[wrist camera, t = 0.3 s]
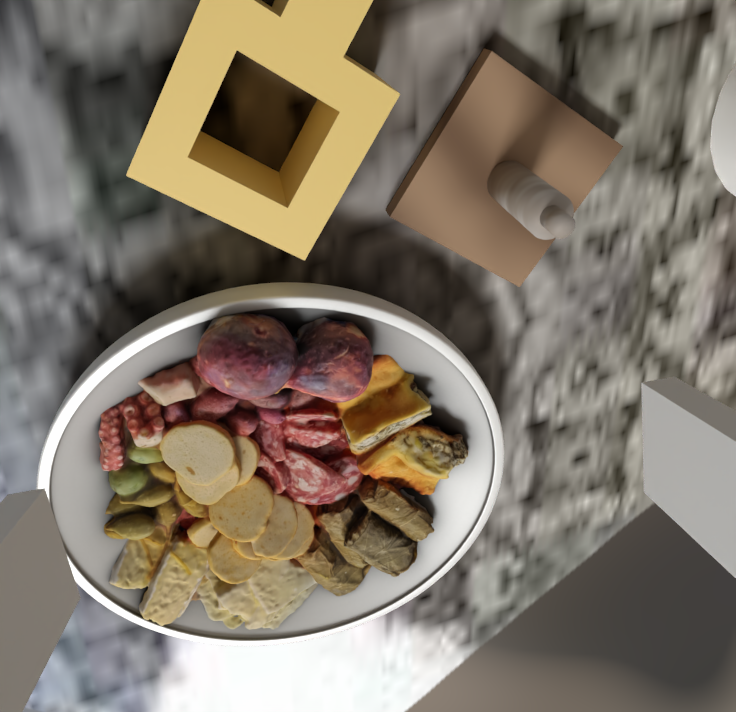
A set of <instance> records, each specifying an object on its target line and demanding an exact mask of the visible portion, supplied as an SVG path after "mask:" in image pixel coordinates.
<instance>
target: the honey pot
mask: <svg viewBox="0 0 736 712" xmlns="http://www.w3.org/2000/svg"><path fill="white" fill-rule="evenodd" d="M710 149H711V154H712V158H713V163H714V168H715V172H716V173H717V175H718V176H719V178H720V180H721V181H722V183H723V185H724V186H725V188H726V189H727V190H728V191H729V192H731V193H732V194H733V195H735V196H736V62H735V64H734V66H733V68H732V70H731V72H730V74H729V76H728V77H727V79H726V81H725V83H724V85H723V87H722V89H721V91H720V95H719V98H718V102H717V105H716V108H715V112H714V115H713V119H712V128H711V144H710Z"/></svg>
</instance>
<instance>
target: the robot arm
mask: <svg viewBox="0 0 736 712" xmlns="http://www.w3.org/2000/svg"><path fill="white" fill-rule="evenodd" d="M642 426H643V468H644V493H645V494H646V495H648V496H649V497H650V498H651V499H652V500H653V501H654V502H655V503H656V504H657V505H658V506H659V507H661V508H662V510H664V511H665V512H666V513H667V514H668V515H669V516H670V517H671V518H672V519H673V520H674V521H675V522H676V523H677V524H678V525H680V526H681V527H682V528H683V529H684V530H685V531H686V532H687V533H688V534H689V535H690V536H691V537H692V538H694V539H695V540H696V541H697V542H698V543H699V544H700V545H701V546H702V547H703V548H704V549H705V550H706V551H707V552H708V553H709V554H710V555H712V556H713V557H714V558H715V559H716V560H717V561H718V562H719V563H720V564H721V565H722V566H723V567H724V568H725V569H727V570H728V571H729V572H730V573H731V574H732V575H733V576H734V577H735V578H736V411H735V410H733V409H731V408H730V407H728V406H726V405H724V404H722V403H721V402H719V401H717V400H715V399H713V398H712V397H710V396H708V395H706V394H704V393H703V392H701V391H699V390H697V389H695V388H694V387H692V386H690V385H688V384H686V383H685V382H683V381H681V380H679V379H677V378H676V377H671V378H665V379H659V380H654V381H648V382H642ZM79 599H80V595H79V592H78V588H77V585H76V582H75V579H74V576H73V573H72V570H71V567H70V564H69V561H68V558H67V555H66V552H65V549H64V546H63V542H62V539H61V536H60V533H59V530H58V527H57V524H56V521H55V518H54V515H53V512H52V509H51V506H50V503H49V500H48V496H47V493H46V490H45V488H43V489H37V490H31V491H26V492H20V493H14V494H9V495H7V496H6V497H5V499H4V500H3V501H2V502H1V503H0V712H22V711H23V709H24V707H25V705H26V703H27V701H28V699H29V697H30V695H31V694H32V692H33V690H34V688H35V686H36V684H37V682H38V680H39V678H40V676H41V674H42V672H43V670H44V668H45V666H46V664H47V662H48V660H49V658H50V656H51V654H52V652H53V650H54V648H55V646H56V644H57V643H58V641H59V639H60V637H61V635H62V633H63V631H64V629H65V627H66V625H67V623H68V621H69V619H70V617H71V615H72V613H73V611H74V609H75V607H76V605H77V603H78V601H79Z"/></svg>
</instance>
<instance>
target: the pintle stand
mask: <svg viewBox="0 0 736 712" xmlns="http://www.w3.org/2000/svg"><path fill="white" fill-rule="evenodd" d="M622 147H623V146H622V145H620V144H619V143H618V142H616V141H615V140H613V139H612V138H611V137H609V136H608V135H607V134H605V133H604V132H602V131H601V130H600V129H598V128H597V127H596V126H594V125H593V124H591V123H590V122H589V121H587V120H586V119H585V118H583V117H582V116H580V115H579V114H578V113H576V112H575V111H574V110H572V109H571V108H569V107H568V106H567V105H565V104H564V103H563V102H561V101H560V100H558V99H557V98H556V97H554V96H553V95H551V94H550V93H549V92H547V91H546V90H545V89H543V88H542V87H540V86H539V85H538V84H536V83H535V82H534V81H532V80H531V79H529V78H528V77H527V76H525V75H524V74H523V73H521V72H520V71H518V70H517V69H516V68H514V67H513V66H512V65H510V64H509V63H507V62H506V61H505V60H503V59H502V58H501V57H499V56H498V55H496V54H495V53H494V52H492V51H490V50H487V49H485V48H484V49H483V51H482V52H481V54H480V56H479V57H478V59H477V60H476V62H475V64H474V65H473V67H472V69H471V70H470V72H469V74H468V75H467V77H466V79H465V80H464V82H463V84H462V85H461V87H460V88H459V90H458V92H457V93H456V95H455V97H454V98H453V100H452V102H451V103H450V105H449V107H448V108H447V110H446V111H445V113H444V115H443V116H442V118H441V120H440V121H439V123H438V125H437V126H436V128H435V130H434V131H433V133H432V134H431V136H430V138H429V139H428V141H427V143H426V144H425V146H424V148H423V149H422V151H421V153H420V154H419V156H418V157H417V159H416V161H415V162H414V164H413V166H412V167H411V169H410V171H409V172H408V174H407V176H406V177H405V179H404V180H403V182H402V184H401V185H400V187H399V189H398V190H397V192H396V194H395V195H394V197H393V199H392V200H391V202H390V204H389V205H388V207H387V208H386V211H387V213H388V215H389V216H390V217H391V218H393V219H395V220H397V221H398V222H400V223H402V224H404V225H406V226H408V227H410V228H411V229H413V230H415V231H417V232H419V233H421V234H422V235H424V236H426V237H428V238H430V239H432V240H434V241H435V242H437V243H439V244H441V245H443V246H445V247H446V248H448V249H450V250H452V251H454V252H456V253H458V254H459V255H461V256H463V257H465V258H467V259H469V260H470V261H472V262H474V263H476V264H478V265H480V266H482V267H483V268H485V269H487V270H489V271H491V272H493V273H494V274H496V275H498V276H500V277H502V278H504V279H506V280H507V281H509V282H511V283H513V284H515V285H517V286H518V287H520V286H521V285H522V283H523V282H524V280H525V279H526V278H527V276H528V275H529V274H530V272H531V271H532V270H533V268H534V267H535V265H536V264H537V263H538V261H539V260H540V259H541V257H542V256H543V255H544V253H545V252H546V251H547V249H548V248H549V246H550V245H551V244H552V242H553V241H554V240H555V238H558V239H563V238H566V237H568V236H569V235H570V234H571V233H572V232H573V230H574V228H575V220H574V219H573V215H574V212H575V211H576V210H577V208H578V207H579V206H580V204H581V203H582V202H583V200H584V199H585V197H586V196H587V195H588V193H589V192H590V191H591V189H592V188H593V187H594V185H595V184H596V183H597V181H598V180H599V178H600V177H601V176H602V174H603V173H604V172H605V170H606V169H607V168H608V166H609V165H610V163H611V162H612V161H613V159H614V158H615V157H616V155H617V154H618V153H619V151H620V150H621V149H622Z"/></svg>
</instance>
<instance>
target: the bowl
mask: <svg viewBox="0 0 736 712" xmlns="http://www.w3.org/2000/svg"><path fill="white" fill-rule="evenodd" d="M503 469H504V437H503V431H502V426H501V422H500V418H499V414H498V412H497V409H496V406H495V403H494V401H493V399H492V397H491V395H490V393H489V391H488V389H487V387H486V386H485V384H484V382H483V381H482V379H481V377H480V376H479V374H478V373H477V371H476V370H475V368H474V367H473V366H472V364H471V363H470V362H469V360H468V359H467V358H466V357H465V356H464V354H463V353H462V352H461V351H460V350H459V349H458V348H457V347H456V346H455V345H454V344H453V343H452V342H451V341H450V340H449V339H448V338H447V337H445V336H444V335H443V334H442V333H441V332H439V331H438V330H437V329H436V328H434V327H433V326H432V325H430V324H429V323H427V322H426V321H424V320H423V319H421V318H420V317H418V316H416V315H415V314H413V313H411V312H409V311H407V310H406V309H404V308H401V307H399V306H397V305H395V304H393V303H391V302H388V301H386V300H383V299H380V298H378V297H375V296H372V295H369V294H366V293H363V292H359V291H355V290H351V289H347V288H342V287H336V286H331V285H323V284H315V283H299V282H279V283H263V284H254V285H246V286H241V287H235V288H230V289H225V290H221V291H217V292H213V293H210V294H206V295H203V296H200V297H197V298H194V299H191V300H188V301H186V302H183V303H180V304H178V305H176V306H174V307H171V308H169V309H167V310H165V311H163V312H161V313H159V314H157V315H155V316H153V317H151V318H149V319H148V320H146V321H145V322H143V323H141V324H140V325H138V326H136V327H135V328H133V329H132V330H130V331H129V332H128V333H126V334H125V335H123V336H122V337H121V338H119V339H118V340H117V341H116V342H114V343H113V344H112V345H111V346H109V347H108V348H107V349H106V350H105V351H104V352H103V353H102V354H101V355H100V356H99V357H97V358H96V359H95V360H94V361H93V363H92V364H91V365H90V366H89V367H88V368H87V369H86V370H85V371H84V372H83V374H82V375H81V376H80V377H79V379H78V380H77V381H76V383H75V384H74V385H73V387H72V388H71V390H70V391H69V393H68V394H67V396H66V397H65V399H64V400H63V402H62V404H61V406H60V408H59V409H58V411H57V413H56V415H55V418H54V420H53V422H52V424H51V427H50V429H49V432H48V434H47V437H46V440H45V443H44V446H43V449H42V453H41V457H40V461H39V467H38V474H37V489H43V488H45V490H46V493H47V496H48V500H49V503H50V506H51V509H52V512H53V515H54V518H55V521H56V524H57V527H58V530H59V533H60V536H61V539H62V542H63V546H64V549H65V552H66V555H67V558H68V561H69V564H70V567H71V570H72V573H73V576H74V579H75V581H76V583H77V584H78V585H79V586H80V587H81V588H83V589H84V590H85V591H86V592H87V593H88V594H89V595H91V596H92V597H93V598H94V599H96V600H97V601H98V602H100V603H101V604H102V605H104V606H105V607H107V608H108V609H110V610H112V611H113V612H115V613H117V614H118V615H120V616H122V617H124V618H126V619H128V620H130V621H132V622H134V623H136V624H138V625H141V626H143V627H146V628H148V629H151V630H154V631H157V632H159V633H162V634H166V635H169V636H173V637H177V638H181V639H185V640H190V641H196V642H201V643H209V644H217V645H230V646H265V645H278V644H286V643H294V642H300V641H306V640H311V639H316V638H320V637H324V636H328V635H331V634H335V633H339V632H342V631H345V630H348V629H351V628H354V627H356V626H359V625H362V624H364V623H367V622H369V621H371V620H374V619H376V618H378V617H380V616H382V615H385V614H386V613H388V612H390V611H392V610H394V609H396V608H398V607H400V606H401V605H403V604H405V603H406V602H408V601H410V600H411V599H413V598H414V597H416V596H417V595H419V594H420V593H422V592H423V591H424V590H426V589H427V588H428V587H430V586H431V585H432V584H434V583H435V582H436V581H437V580H438V579H440V578H441V577H442V576H443V575H444V574H445V573H446V572H447V571H449V570H450V569H451V568H452V567H453V566H454V565H455V564H456V563H457V561H458V560H459V559H460V558H461V557H462V556H463V555H464V554H465V552H466V551H467V550H468V549H469V547H470V546H471V545H472V544H473V542H474V541H475V539H476V538H477V536H478V535H479V533H480V532H481V530H482V529H483V527H484V525H485V523H486V522H487V520H488V518H489V516H490V514H491V511H492V509H493V507H494V504H495V502H496V499H497V496H498V493H499V489H500V485H501V481H502V475H503Z"/></svg>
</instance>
